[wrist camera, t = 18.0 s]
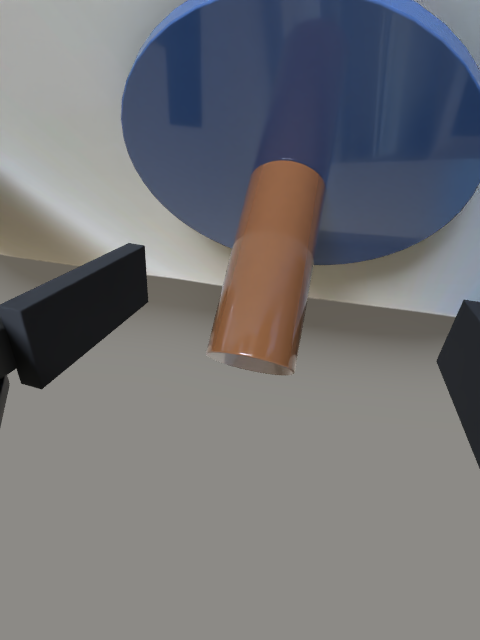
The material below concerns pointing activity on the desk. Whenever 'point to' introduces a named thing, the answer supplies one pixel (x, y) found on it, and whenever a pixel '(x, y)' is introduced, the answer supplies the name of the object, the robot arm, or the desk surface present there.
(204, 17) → the lid
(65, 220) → the desk surface
